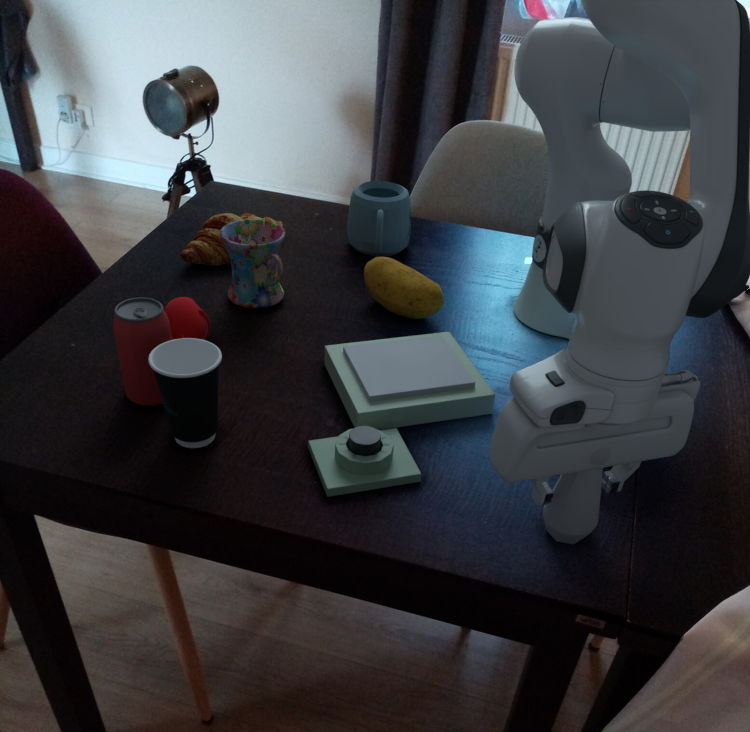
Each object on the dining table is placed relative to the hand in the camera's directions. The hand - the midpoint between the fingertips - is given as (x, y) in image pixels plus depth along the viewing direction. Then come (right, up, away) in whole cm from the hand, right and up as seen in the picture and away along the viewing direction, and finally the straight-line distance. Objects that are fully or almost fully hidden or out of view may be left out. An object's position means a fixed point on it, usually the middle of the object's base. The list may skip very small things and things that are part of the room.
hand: (575, 495), depth 81 cm
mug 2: (-20, +42, +54) cm, 71 cm away
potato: (-17, +28, +38) cm, 50 cm away
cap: (-47, +22, +29) cm, 59 cm away
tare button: (-22, +6, +8) cm, 24 cm away
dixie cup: (-42, +7, +13) cm, 45 cm away
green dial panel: (-22, +4, +10) cm, 25 cm away
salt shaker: (0, -4, +4) cm, 5 cm away
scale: (-17, +14, +23) cm, 31 cm away
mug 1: (-38, +29, +38) cm, 61 cm away
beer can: (-49, +13, +19) cm, 54 cm away
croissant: (-44, +41, +51) cm, 79 cm away
